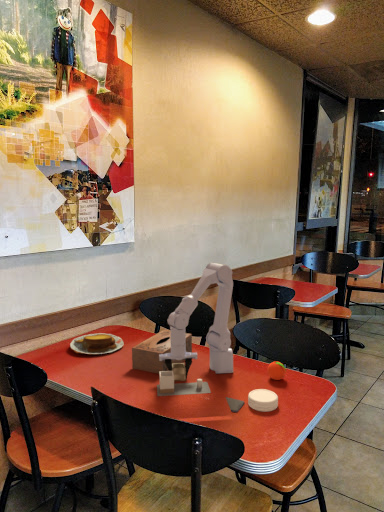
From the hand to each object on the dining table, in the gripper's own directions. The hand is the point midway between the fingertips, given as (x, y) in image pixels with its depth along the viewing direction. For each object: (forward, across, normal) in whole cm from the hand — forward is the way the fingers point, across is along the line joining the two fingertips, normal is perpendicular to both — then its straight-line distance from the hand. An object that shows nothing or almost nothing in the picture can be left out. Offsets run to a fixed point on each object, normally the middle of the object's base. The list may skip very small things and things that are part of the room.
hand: (178, 377), depth 156 cm
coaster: (+2, +27, -22) cm, 35 cm away
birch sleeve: (+1, 0, 0) cm, 1 cm away
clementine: (+2, +38, -4) cm, 38 cm away
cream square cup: (0, -5, -9) cm, 10 cm away
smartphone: (+2, +13, -19) cm, 23 cm away
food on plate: (+2, -36, +42) cm, 55 cm away
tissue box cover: (+2, -5, +19) cm, 20 cm away
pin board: (+1, +1, -9) cm, 9 cm away
